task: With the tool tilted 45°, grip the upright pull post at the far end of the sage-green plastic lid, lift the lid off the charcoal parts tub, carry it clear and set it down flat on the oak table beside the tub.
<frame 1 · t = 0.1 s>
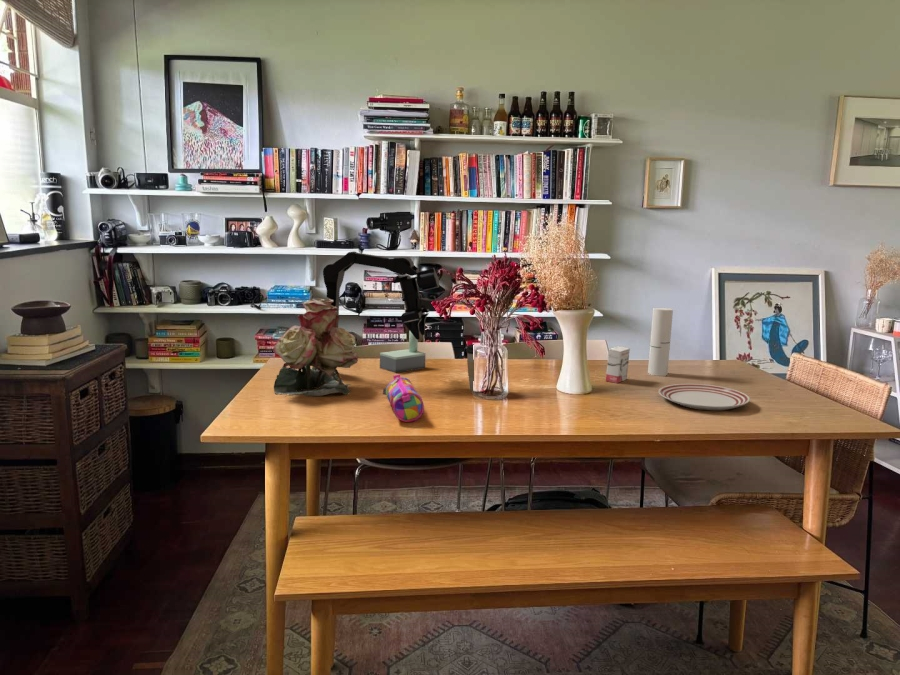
hand: (420, 337, 230), 15 cm above the table, tool pointing down, fingers open, 9 cm apart
lid: (402, 355, 251), point 5 cm above the table, touching parts tub
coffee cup: (478, 390, 222), on the table
dinner plate: (702, 403, 214), on the table
ink box: (616, 380, 241), on the table
cylindrical container: (657, 374, 253), on the table
rose bouquet: (319, 388, 220), on the table
pencil case: (403, 413, 194), on the table
parts tub: (402, 368, 252), on the table
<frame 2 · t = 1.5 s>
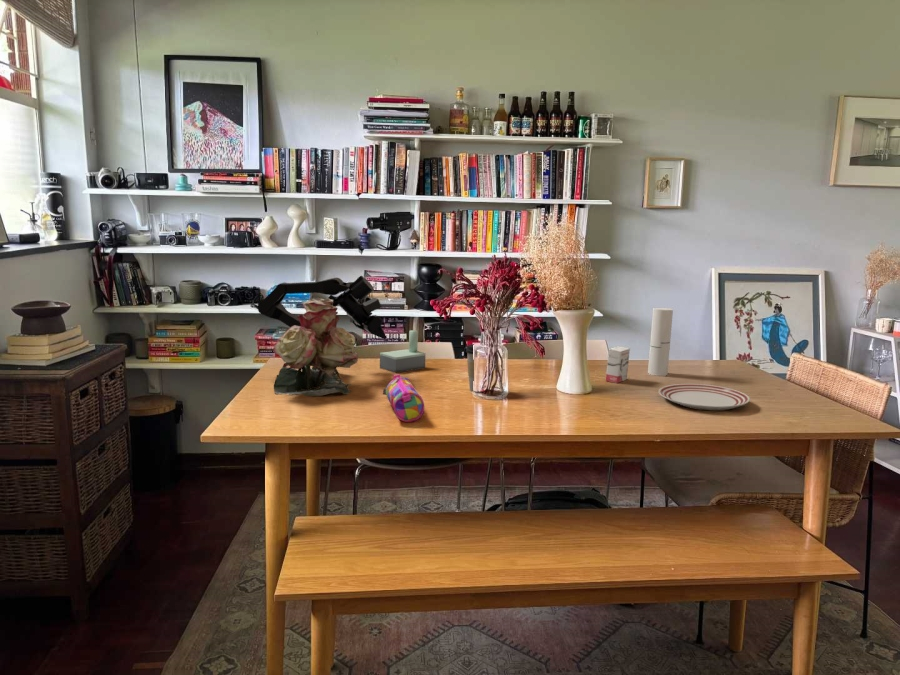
hand: (380, 336, 241), 14 cm above the table, tool tilted 45°, fingers open, 9 cm apart
nothing on the table moved.
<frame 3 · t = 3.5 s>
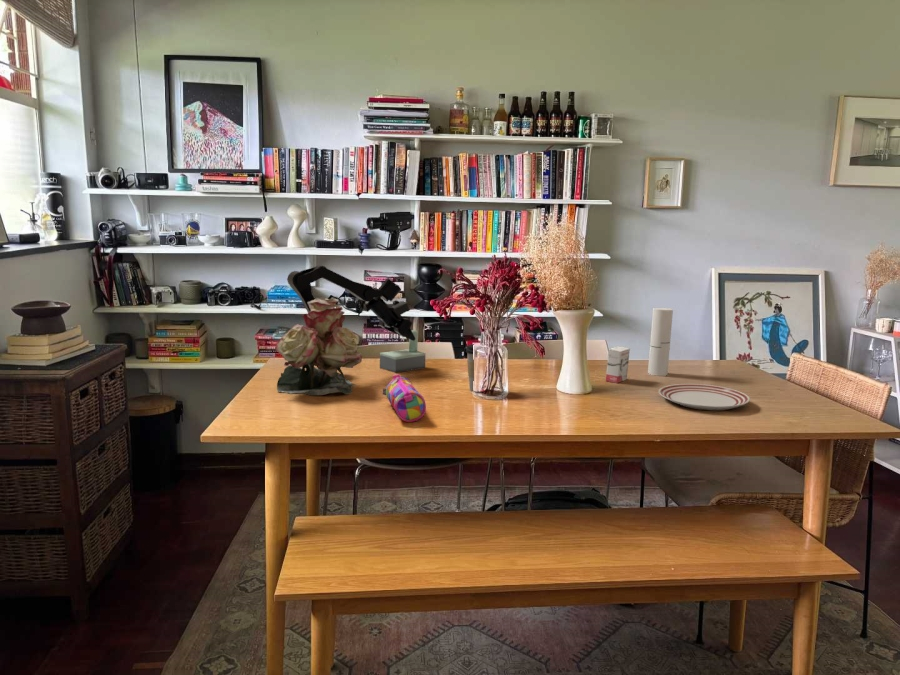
hand: (409, 337, 252), 11 cm above the table, tool tilted 45°, fingers open, 9 cm apart
rose bouquet: (323, 387, 221), on the table, touching arm
everything else where it was.
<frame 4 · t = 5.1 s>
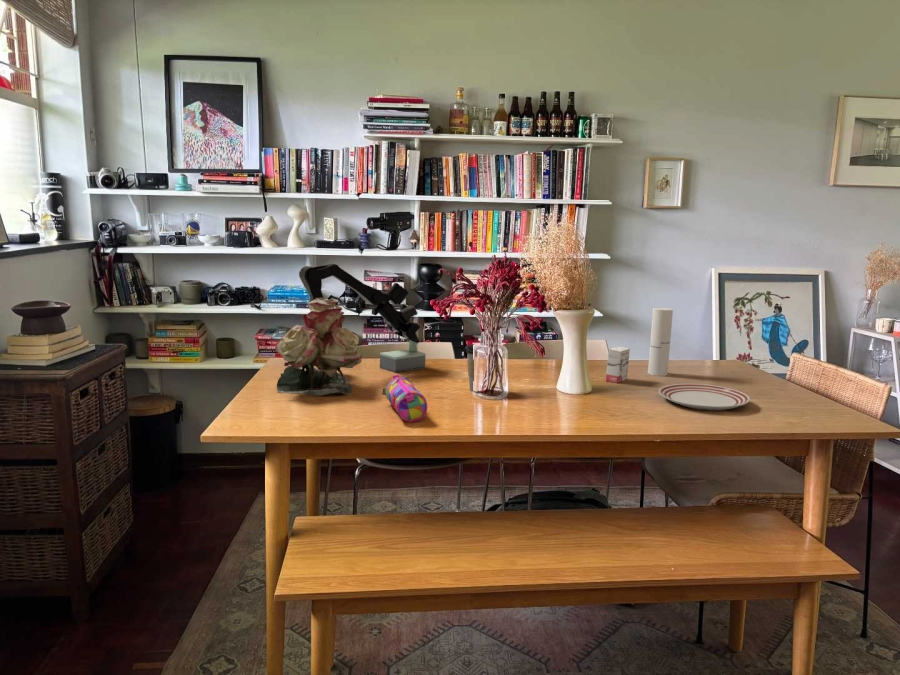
hand: (416, 341, 254), 10 cm above the table, tool tilted 45°, fingers closed on lid, 3 cm apart
lid: (402, 355, 251), point 5 cm above the table, touching gripper, parts tub
rose bouquet: (323, 388, 221), on the table
everything else where it was.
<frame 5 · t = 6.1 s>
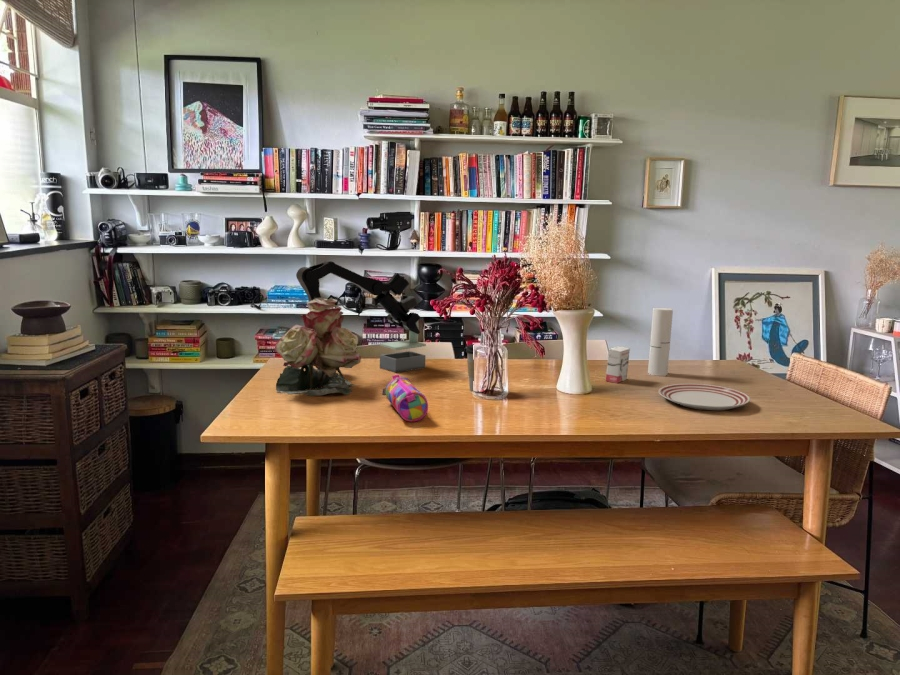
hand: (416, 332, 254), 13 cm above the table, tool tilted 45°, fingers closed on lid, 3 cm apart
lid: (402, 345, 250), point 9 cm above the table, touching gripper
rose bouquet: (322, 388, 220), on the table, touching arm
everything else where it was.
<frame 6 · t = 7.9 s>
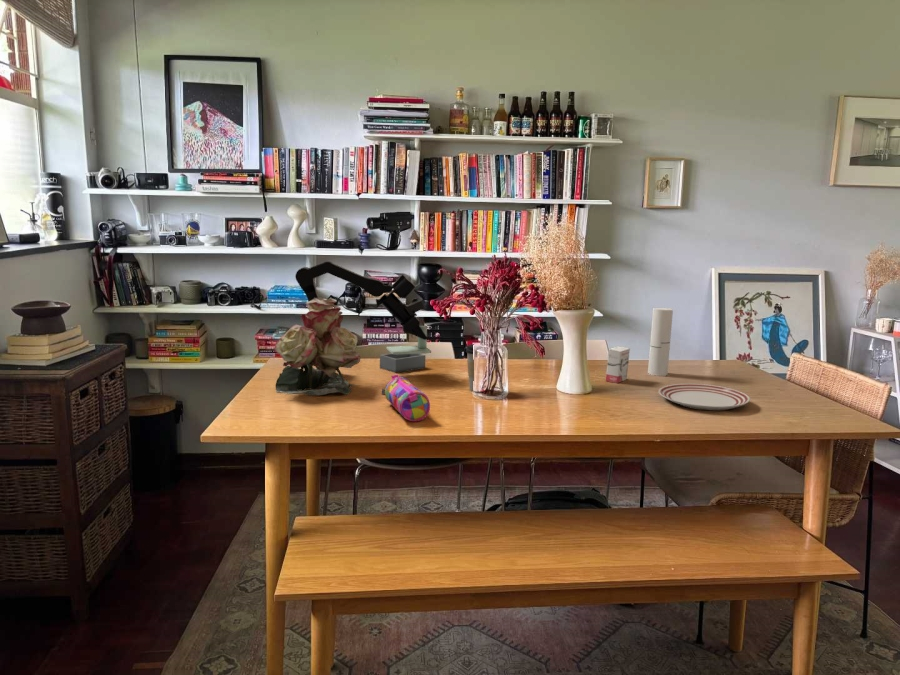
hand: (426, 338, 240), 14 cm above the table, tool tilted 45°, fingers closed on lid, 3 cm apart
lid: (408, 350, 239), point 9 cm above the table, touching gripper
rose bouquet: (321, 387, 221), on the table
when the fingers open (7 cm above the table, at t = 11.0 s): lid drops 2 cm, on the table.
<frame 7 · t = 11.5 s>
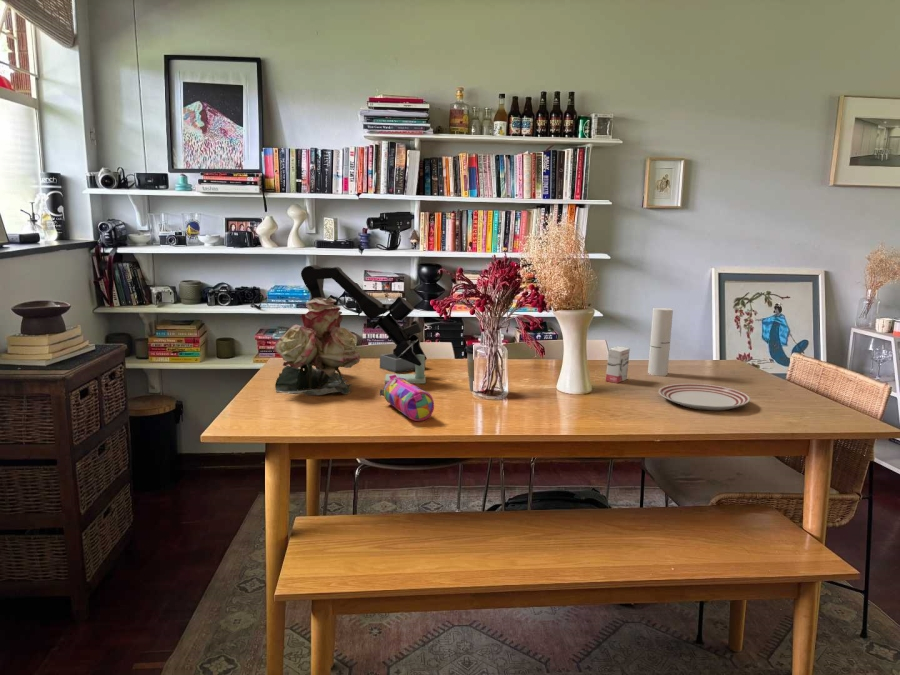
hand: (423, 362, 232), 7 cm above the table, tool tilted 45°, fingers open, 9 cm apart
lid: (405, 379, 233), on the table
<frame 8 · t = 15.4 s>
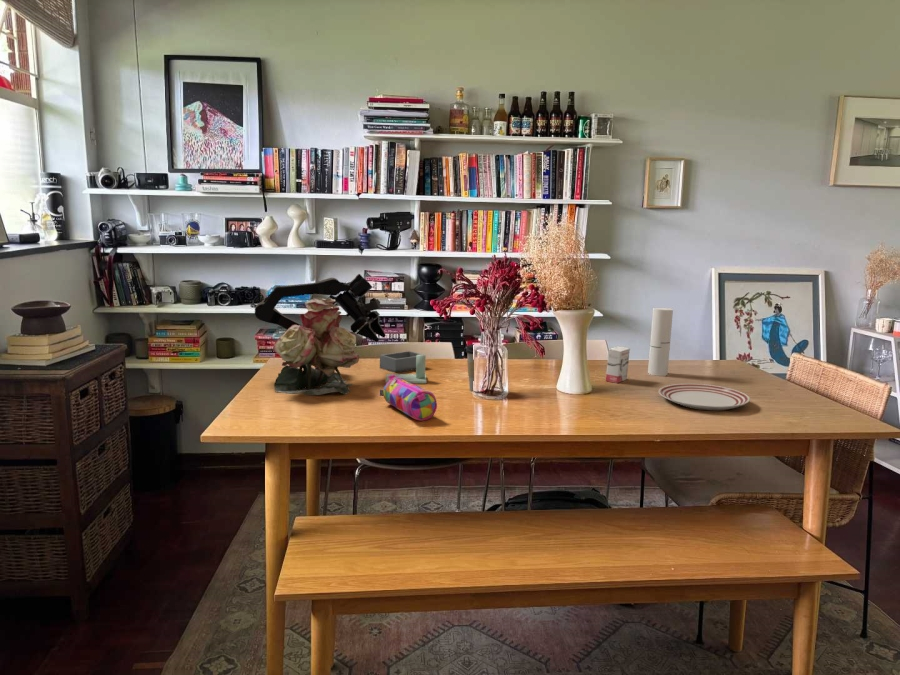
hand: (381, 338, 236), 14 cm above the table, tool tilted 45°, fingers open, 9 cm apart
at the end: lid touching table; lid inside the target area (0.6 cm from its centre), on the table; the gripper is holding nothing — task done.
